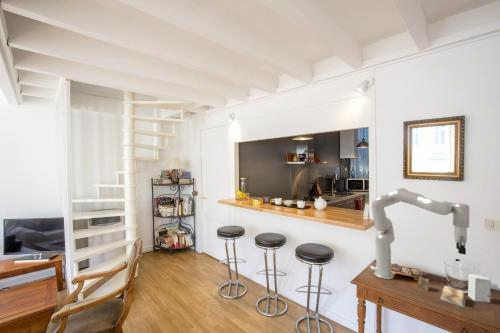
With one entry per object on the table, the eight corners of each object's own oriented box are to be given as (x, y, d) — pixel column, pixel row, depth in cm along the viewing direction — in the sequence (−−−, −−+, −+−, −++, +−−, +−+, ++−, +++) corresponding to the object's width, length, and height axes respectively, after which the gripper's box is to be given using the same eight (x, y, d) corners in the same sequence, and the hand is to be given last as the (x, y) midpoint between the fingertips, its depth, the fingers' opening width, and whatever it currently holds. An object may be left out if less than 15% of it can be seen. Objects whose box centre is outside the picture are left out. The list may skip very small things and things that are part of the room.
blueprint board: (430, 298, 144) (430, 296, 144) (434, 290, 154) (434, 288, 154) (475, 313, 130) (475, 311, 130) (476, 303, 139) (476, 301, 139)
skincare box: (474, 302, 140) (475, 278, 140) (467, 297, 146) (467, 273, 146) (491, 304, 138) (491, 279, 138) (482, 298, 144) (483, 274, 144)
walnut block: (418, 289, 155) (418, 279, 155) (419, 286, 158) (419, 276, 158) (427, 292, 151) (427, 281, 151) (428, 289, 155) (429, 279, 154)
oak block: (442, 299, 142) (442, 290, 142) (444, 293, 148) (444, 285, 148) (462, 305, 135) (462, 296, 135) (463, 299, 142) (463, 291, 142)
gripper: (451, 220, 152) (451, 246, 152) (454, 225, 138) (454, 254, 139) (467, 221, 148) (466, 248, 148) (471, 227, 134) (471, 257, 134)
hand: (460, 251), depth 143 cm, fingers open, 9 cm apart
